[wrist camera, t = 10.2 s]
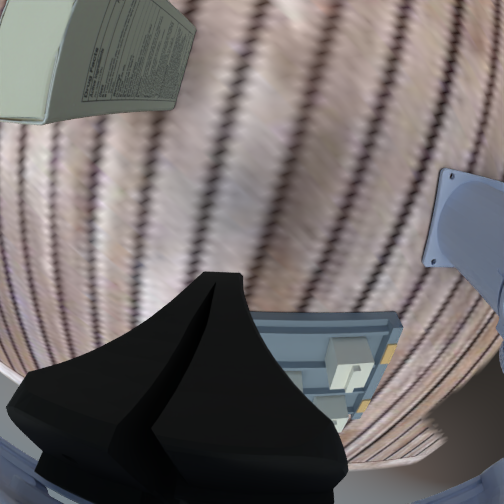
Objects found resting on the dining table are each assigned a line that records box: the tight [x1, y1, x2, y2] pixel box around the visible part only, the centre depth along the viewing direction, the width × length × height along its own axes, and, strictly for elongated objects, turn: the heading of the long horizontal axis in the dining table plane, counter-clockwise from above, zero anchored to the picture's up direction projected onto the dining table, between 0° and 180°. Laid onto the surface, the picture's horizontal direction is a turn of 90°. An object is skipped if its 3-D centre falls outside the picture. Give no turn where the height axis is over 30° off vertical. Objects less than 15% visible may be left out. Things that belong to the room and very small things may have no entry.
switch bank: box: [250, 312, 403, 419], centre depth 25 cm, size 14×14×2 cm
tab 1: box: [285, 371, 303, 393], centre depth 23 cm, size 3×3×4 cm
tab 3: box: [325, 336, 375, 393], centre depth 21 cm, size 3×3×4 cm
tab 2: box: [313, 395, 349, 432], centre depth 25 cm, size 3×3×4 cm
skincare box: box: [0, 0, 196, 125], centre depth 10 cm, size 6×4×12 cm
